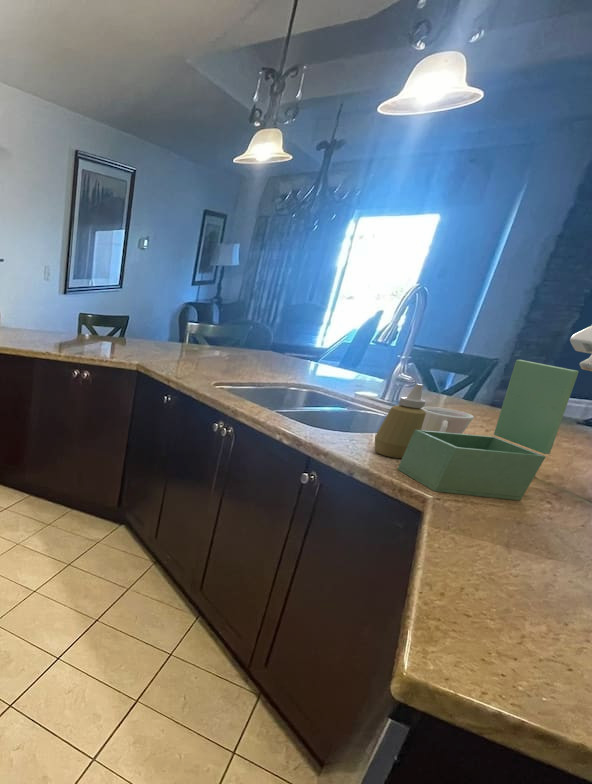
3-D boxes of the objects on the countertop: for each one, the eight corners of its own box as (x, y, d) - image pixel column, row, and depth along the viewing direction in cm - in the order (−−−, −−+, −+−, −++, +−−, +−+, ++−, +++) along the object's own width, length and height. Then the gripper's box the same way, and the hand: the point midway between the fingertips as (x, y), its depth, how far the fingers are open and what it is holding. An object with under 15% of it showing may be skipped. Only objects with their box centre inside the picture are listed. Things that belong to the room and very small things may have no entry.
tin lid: (573, 371, 90) (579, 370, 90) (515, 359, 102) (520, 359, 101) (544, 454, 96) (550, 454, 96) (493, 434, 108) (497, 434, 107)
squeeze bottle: (416, 462, 119) (450, 389, 112) (377, 457, 122) (407, 385, 114) (400, 451, 126) (431, 382, 119) (363, 447, 129) (391, 379, 121)
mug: (455, 448, 131) (472, 412, 127) (458, 462, 121) (478, 423, 117) (404, 438, 137) (420, 404, 133) (403, 451, 127) (420, 414, 123)
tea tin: (434, 491, 103) (456, 447, 99) (397, 469, 114) (414, 429, 110) (520, 500, 100) (546, 456, 96) (473, 477, 112) (494, 436, 108)
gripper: (617, 302, 98) (533, 347, 104) (745, 311, 80) (635, 365, 85) (629, 326, 99) (546, 370, 105) (758, 341, 81) (649, 392, 87)
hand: (587, 368), depth 95 cm, fingers closed
